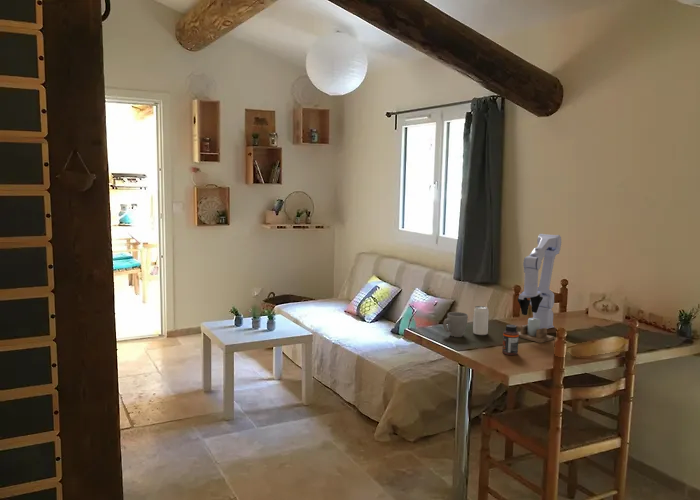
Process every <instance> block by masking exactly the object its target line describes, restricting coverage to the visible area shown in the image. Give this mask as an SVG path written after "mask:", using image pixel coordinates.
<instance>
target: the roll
mask: <svg viewBox="0 0 700 500" xmlns="http://www.w3.org/2000/svg"><path fill="white" fill-rule="evenodd" d="M527 324H528V331H527V335H529V336H536V331H537V329H540V319H538V318H533V317H529V318H528V319H527Z"/></svg>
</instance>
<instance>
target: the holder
mask: <svg viewBox="0 0 700 500" xmlns="http://www.w3.org/2000/svg"><path fill="white" fill-rule="evenodd" d="M527 331H528V323H527V324H524V325H520V331H518V333H519V339H524V340H528V341H532V342H536V343H539V344H540V343H546V342H549V341H552V340H554V339H555V336H554V335H549V334H548V329H547V328H541V329H537V331H536V336H529V335H527Z"/></svg>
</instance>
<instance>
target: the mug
mask: <svg viewBox="0 0 700 500" xmlns="http://www.w3.org/2000/svg"><path fill="white" fill-rule="evenodd" d="M446 315H447V316H446V317H447V318H445V319H444V320H443V323H442V326H443V329H444V331H445V332H446V333H449V335H450V336H451V337H453V336H454V337H453V338H462V337H464V334H465V331H466V329H467V326H468V321H469V319H468V317H469V315H468V314H467V313H465V312H461V311H451V312H447V314H446Z"/></svg>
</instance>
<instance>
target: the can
mask: <svg viewBox="0 0 700 500" xmlns="http://www.w3.org/2000/svg"><path fill="white" fill-rule="evenodd" d="M489 312H490V311H489V308H488V306H484V305H475V306H474V310H473V323H472V333H473V334H474V335H475V336H477V335H478V336H487V335H488V334H489V333H488V332H489V330H488V329H489V316H490V315H489V314H490V313H489Z"/></svg>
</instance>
